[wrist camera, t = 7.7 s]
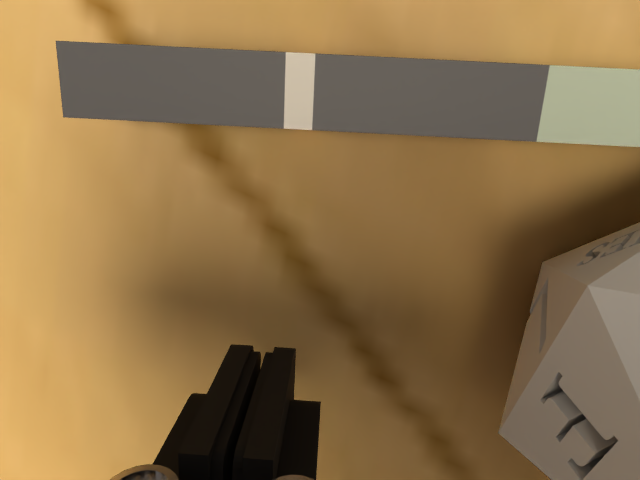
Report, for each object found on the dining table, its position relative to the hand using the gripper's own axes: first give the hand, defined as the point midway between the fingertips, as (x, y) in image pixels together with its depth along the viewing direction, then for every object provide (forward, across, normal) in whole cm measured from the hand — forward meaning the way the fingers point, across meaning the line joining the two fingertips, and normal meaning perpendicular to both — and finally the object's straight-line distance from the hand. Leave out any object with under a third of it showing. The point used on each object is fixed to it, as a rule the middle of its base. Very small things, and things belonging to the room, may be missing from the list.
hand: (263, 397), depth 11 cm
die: (+3, -10, -2) cm, 11 cm away
